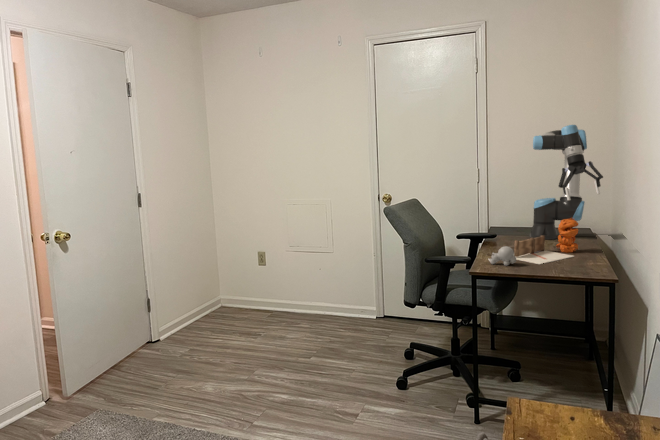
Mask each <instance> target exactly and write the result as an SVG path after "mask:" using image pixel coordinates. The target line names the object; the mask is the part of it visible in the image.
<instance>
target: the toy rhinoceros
mask: <svg viewBox="0 0 660 440" xmlns="http://www.w3.org/2000/svg"><path fill="white" fill-rule="evenodd" d="M497 251H498V252H492V253H491V258H489V257H488V261H489V262H490V264H491V265H496V263H497V262H500V261H501V262H503V266H505V267H506V266H509V265H510V264H515V263H517V260H516V257H515V256H514V249H513V248H512V247H511V246H507V245H506V246H502V247H500V248H499V249H498V250H497Z"/></svg>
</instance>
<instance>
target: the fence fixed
mask: <svg viewBox="0 0 660 440" xmlns="http://www.w3.org/2000/svg"><path fill="white" fill-rule="evenodd" d="M529 239H532V251H531V253H530V254H534V252H537V251H545V244H546V243H545V241H546V239H545V236H544V235H541V237H536V238H531V237H529Z"/></svg>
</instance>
